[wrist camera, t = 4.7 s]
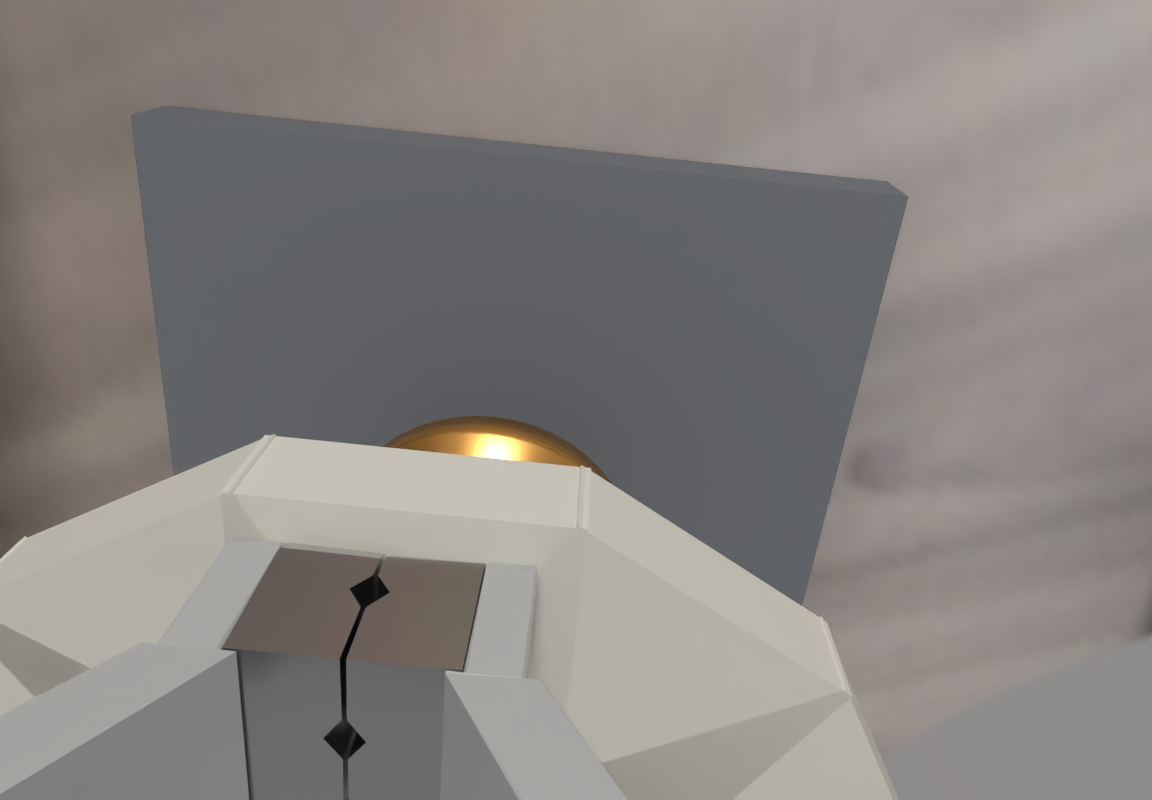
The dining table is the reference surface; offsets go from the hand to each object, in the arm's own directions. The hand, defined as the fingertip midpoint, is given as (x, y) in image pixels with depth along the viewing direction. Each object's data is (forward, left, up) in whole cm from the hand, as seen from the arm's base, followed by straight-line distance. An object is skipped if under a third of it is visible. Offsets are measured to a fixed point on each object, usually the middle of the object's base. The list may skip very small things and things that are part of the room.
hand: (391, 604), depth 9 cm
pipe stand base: (0, +5, -13) cm, 14 cm away
